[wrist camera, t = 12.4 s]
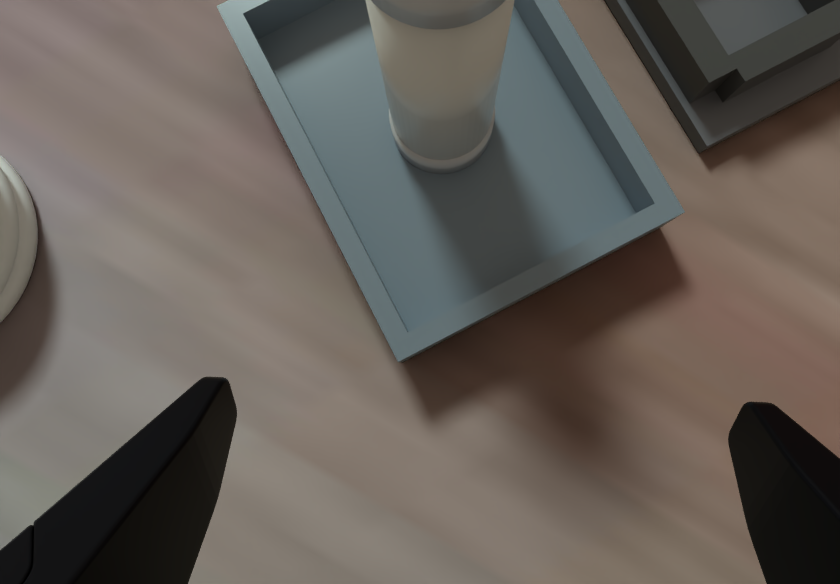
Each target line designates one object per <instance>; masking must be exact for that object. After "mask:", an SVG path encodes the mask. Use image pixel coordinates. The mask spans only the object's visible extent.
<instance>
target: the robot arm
mask: <svg viewBox="0 0 840 584" xmlns="http://www.w3.org/2000/svg"><path fill="white" fill-rule="evenodd" d="M236 418H237V408H236V404H235V401H234V397H233V394H232V390H231V387H230V384H229V381H228V380H227V379H226V378H223V377H204V378H202V379H200V380H199V381H198V382H196V383H195V384H194V385H193V386H192V387H191V388H189V389H188V390H187V391H186V392H185V393H184V394H182V395H181V396H180V397H179V398H178V399H177V400H175V401H174V402H173V403H172V404H171V405H170V406H168V407H167V408H166V409H165V410H164V411H163V412H161V413H160V414H159V415H158V416H157V417H156V418H154V419H153V420H152V421H151V422H150V423H149V424H147V425H146V426H145V427H144V428H143V429H142V430H140V431H139V432H138V433H137V434H136V435H135V436H133V437H132V438H131V439H130V440H129V441H128V442H126V443H125V444H124V445H123V446H122V447H121V448H119V449H118V450H117V451H116V452H115V453H114V454H112V455H111V456H110V457H109V458H108V459H107V460H105V461H104V462H103V463H102V464H101V465H100V466H98V467H97V468H96V469H95V470H94V471H93V472H91V473H90V474H89V475H88V476H87V477H86V478H84V479H83V480H82V481H81V482H80V483H79V484H77V485H76V486H75V487H74V488H73V489H72V490H70V491H69V492H68V493H67V494H66V495H65V496H63V497H62V498H61V499H60V500H59V501H58V502H56V503H55V504H54V505H53V506H52V507H51V508H49V509H48V510H47V511H46V512H45V513H44V514H42V515H41V516H40V517H39V518H38V519H37V520H35V522H34V526H33V525H30V526H28V527H27V528H26V529H25V530H23V531H22V532H21V533H20V534H19V535H18V536H16V537H15V538H14V539H13V540H12V541H11V542H9V543H8V544H7V545H6V546H5V547H3V548H2V549H1V550H0V584H188V582H189V579H190V576H191V573H192V571H193V568H194V565H195V562H196V559H197V557H198V554H199V551H200V548H201V545H202V542H203V540H204V537H205V534H206V531H207V528H208V526H209V523H210V520H211V517H212V514H213V512H214V509H215V505H216V502H217V499H218V496H219V492H220V488H221V484H222V479H223V475H224V471H225V467H226V462H227V458H228V454H229V449H230V445H231V441H232V437H233V432H234V428H235V424H236ZM728 442H729V448H730V453H731V457H732V462H733V466H734V471H735V475H736V480H737V484H738V488H739V493H740V497H741V502H742V506H743V511H744V515H745V519H746V523H747V527H748V530H749V533H750V536H751V540H752V543H753V546H754V548H755V551H756V554H757V557H758V560H759V563H760V566H761V569H762V571H763V574H764V577H765V580H766V583H767V584H840V458H838V457H837V456H836V455H835V454H834V453H832V452H831V451H830V450H829V449H828V448H826V447H825V446H824V445H823V444H821V443H820V442H819V441H818V440H817V439H815V438H814V437H813V436H812V435H811V434H809V433H808V432H807V431H806V430H805V429H803V428H802V427H801V426H800V425H799V424H797V423H796V422H795V421H794V420H793V419H791V418H790V417H789V416H788V415H787V414H785V413H784V412H783V411H782V410H781V409H779V408H778V407H777V406H775V405H774V404H772V403H767V402H747V403H745V404H744V405H743V406H742V408H741V410H740V412H739V414H738V416H737V418H736V420H735V422H734V424H733V426H732V428H731V430H730V432H729V438H728Z"/></svg>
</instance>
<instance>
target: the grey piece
mask: <svg viewBox="0 0 840 584" xmlns="http://www.w3.org/2000/svg"><path fill="white" fill-rule="evenodd" d="M605 2H606V3H607V5H608V6H609V8H610V10H611V11H612V13H613V15H614V16H615V18H616V19H617V21H618V23H619V24H620V26H621V28H622V29H623V31H624V32H625V34H626V36H627V37H628V39H629V41H630V42H631V44H632V46H633V47H634V49H635V50H636V52H637V54H638V55H639V57H640V59H641V60H642V62H643V63H644V65H645V67H646V68H647V70H648V72H649V73H650V75H651V76H652V78H653V80H654V81H655V83H656V85H657V86H658V88H659V90H660V91H661V93H662V94H663V96H664V98H665V99H666V101H667V103H668V104H669V106H670V107H671V109H672V111H673V112H674V114H675V116H676V117H677V119H678V120H679V122H680V124H681V125H682V127H683V129H684V130H685V132H686V133H687V135H688V137H689V138H690V140H691V142H692V143H693V145H694V147H695V148H696V150H697V151H698V153H700V152H702V151H704V150H706V149H708V148H710V147H712V146H714V145H716V144H718V143H720V142H722V141H723V140H725V139H727V138H729V137H731V136H733V135H735V134H737V133H739V132H741V131H743V130H745V129H747V128H748V127H750V126H752V125H754V124H756V123H758V122H760V121H762V120H764V119H766V118H768V117H770V116H771V115H773V114H775V113H777V112H779V111H781V110H783V109H785V108H787V107H789V106H791V105H793V104H795V103H796V102H798V101H800V100H802V99H804V98H806V97H808V96H810V95H812V94H814V93H816V92H818V91H819V90H821V89H823V88H825V87H827V86H829V85H831V84H833V83H835V82H837V81H839V80H840V0H605Z"/></svg>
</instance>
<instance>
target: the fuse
mask: <svg viewBox="0 0 840 584" xmlns="http://www.w3.org/2000/svg"><path fill="white" fill-rule="evenodd" d="M365 1H366V5H367V10H368V14H369V19H370V23H371V28H372V32H373V37H374V41H375V46H376V51H377V55H378V60H379V64H380V69H381V73H382V78H383V82H384V87H385V91H386V96H387V100H388V105H389V120H390V125H391V130H392V134H393V138H394V141H395V144H396V146H397V148H398V150H399V152H400V153H401V155H402V156H403V157H404V158H405V159H406V160H407V161H408V162H409V163H410V164H412V165H413V166H415V167H416V168H418V169H420V170H423V171H425V172H429V173H434V174H449V173H454V172H458V171H461V170H463V169H465V168H467V167H469V166H470V165H472V164H473V163H474V162H476V161H477V160H478V159H479V158H480V157H481V155H482V154H483V153H484V151H485V150H486V148H487V146H488V144H489V141H490V138H491V134H492V129H493V124H494V119H495V100H496V95H497V90H498V85H499V79H500V74H501V69H502V64H503V58H504V53H505V48H506V42H507V37H508V32H509V27H510V21H511V16H512V11H513V6H514V0H365Z"/></svg>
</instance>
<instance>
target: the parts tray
mask: <svg viewBox="0 0 840 584" xmlns="http://www.w3.org/2000/svg"><path fill="white" fill-rule="evenodd" d="M217 8H218V10H219V12H220V14H221V16H222V18H223V20H224V22H225V23H226V25H227V27H228V29H229V31H230V33H231V35H232V37H233V39H234V41H235V43H236V45H237V47H238V49H239V51H240V53H241V55H242V57H243V59H244V61H245V63H246V65H247V67H248V69H249V71H250V73H251V74H252V76H253V78H254V80H255V82H256V84H257V86H258V88H259V90H260V92H261V94H262V96H263V98H264V100H265V102H266V104H267V106H268V108H269V110H270V112H271V114H272V116H273V118H274V120H275V122H276V124H277V126H278V127H279V129H280V131H281V133H282V135H283V137H284V139H285V141H286V143H287V145H288V147H289V149H290V151H291V153H292V155H293V157H294V159H295V161H296V163H297V165H298V167H299V169H300V171H301V173H302V175H303V177H304V178H305V180H306V182H307V184H308V186H309V188H310V190H311V192H312V194H313V196H314V198H315V200H316V202H317V204H318V206H319V208H320V210H321V212H322V214H323V216H324V218H325V220H326V222H327V224H328V226H329V228H330V230H331V231H332V233H333V235H334V237H335V239H336V241H337V243H338V245H339V247H340V249H341V251H342V253H343V255H344V257H345V259H346V261H347V263H348V265H349V267H350V269H351V271H352V273H353V275H354V277H355V279H356V281H357V282H358V284H359V286H360V288H361V290H362V292H363V294H364V296H365V298H366V300H367V302H368V304H369V306H370V308H371V310H372V312H373V314H374V316H375V318H376V320H377V322H378V324H379V326H380V328H381V330H382V332H383V334H384V335H385V337H386V339H387V341H388V343H389V345H390V347H391V349H392V351H393V353H394V355H395V357H396V359H397V361H398V362H404V361H406V360H408V359H410V358H412V357H414V356H416V355H418V354H420V353H421V352H423V351H425V350H427V349H429V348H431V347H433V346H435V345H437V344H439V343H441V342H442V341H444V340H446V339H448V338H450V337H452V336H454V335H456V334H458V333H460V332H462V331H463V330H465V329H467V328H469V327H471V326H473V325H475V324H477V323H479V322H481V321H483V320H485V319H486V318H488V317H490V316H492V315H494V314H496V313H498V312H500V311H502V310H504V309H506V308H507V307H509V306H511V305H513V304H515V303H517V302H519V301H521V300H523V299H525V298H527V297H528V296H530V295H532V294H534V293H536V292H538V291H540V290H542V289H544V288H546V287H548V286H550V285H551V284H553V283H555V282H557V281H559V280H561V279H563V278H565V277H567V276H569V275H571V274H572V273H574V272H576V271H578V270H580V269H582V268H584V267H586V266H588V265H590V264H592V263H593V262H595V261H597V260H599V259H601V258H603V257H605V256H607V255H609V254H611V253H613V252H615V251H616V250H618V249H620V248H622V247H624V246H626V245H628V244H630V243H632V242H634V241H636V240H637V239H639V238H641V237H643V236H645V235H647V234H649V233H651V232H653V231H655V230H657V229H659V228H660V227H662V226H664V225H665V224H667V223H668V222H670V221H671V220H673V219H675V218H676V217H678V216H679V215H681V214H683V213H684V212H685V211H684V210H683V208H682V206H681V205H680V203H679V201H678V200H677V198H676V196H675V195H674V193H673V191H672V190H671V188H670V186H669V185H668V183H667V181H666V180H665V178H664V176H663V175H662V173H661V171H660V170H659V168H658V166H657V165H656V163H655V161H654V160H653V158H652V156H651V155H650V153H649V151H648V150H647V148H646V147H645V145H644V143H643V142H642V140H641V138H640V137H639V135H638V133H637V132H636V130H635V128H634V127H633V125H632V123H631V122H630V120H629V118H628V117H627V115H626V113H625V112H624V110H623V108H622V107H621V105H620V103H619V102H618V100H617V98H616V97H615V95H614V93H613V92H612V90H611V88H610V87H609V85H608V83H607V82H606V80H605V78H604V77H603V75H602V73H601V72H600V70H599V68H598V67H597V65H596V63H595V62H594V60H593V58H592V57H591V55H590V53H589V52H588V50H587V48H586V47H585V45H584V43H583V42H582V40H581V38H580V37H579V35H578V33H577V32H576V30H575V28H574V27H573V25H572V23H571V22H570V20H569V18H568V17H567V15H566V13H565V12H564V10H563V8H562V7H561V5H560V3H559V2H558V0H514V6H513V11H512V16H511V21H510V27H509V32H508V37H507V42H506V48H505V53H504V58H503V64H502V69H501V74H500V79H499V85H498V90H497V95H496V100H495V119H494V124H493V129H492V134H491V138H490V141H489V144H488V146H487V148H486V150H485V151H484V153H483V154H482V155H481V157H480V158H479V159H478V160H477V161H476V162H474V163H473V164H472V165H470V166H469V167H467V168H465V169H463V170H461V171H458V172H454V173H449V174H434V173H429V172H425V171H423V170H420V169H418V168H416V167H415V166H413V165H412V164H410V163H409V162H408V161H407V160H406V159H405V158H404V157H403V156H402V155H401V153H400V152H399V150H398V148H397V146H396V144H395V141H394V138H393V134H392V130H391V125H390V120H389V105H388V100H387V96H386V91H385V87H384V82H383V78H382V73H381V69H380V64H379V60H378V55H377V51H376V46H375V41H374V37H373V32H372V28H371V23H370V19H369V14H368V10H367V5H366V1H365V0H228V1H226V2H224V3H222V4H220V5H218V6H217Z"/></svg>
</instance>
